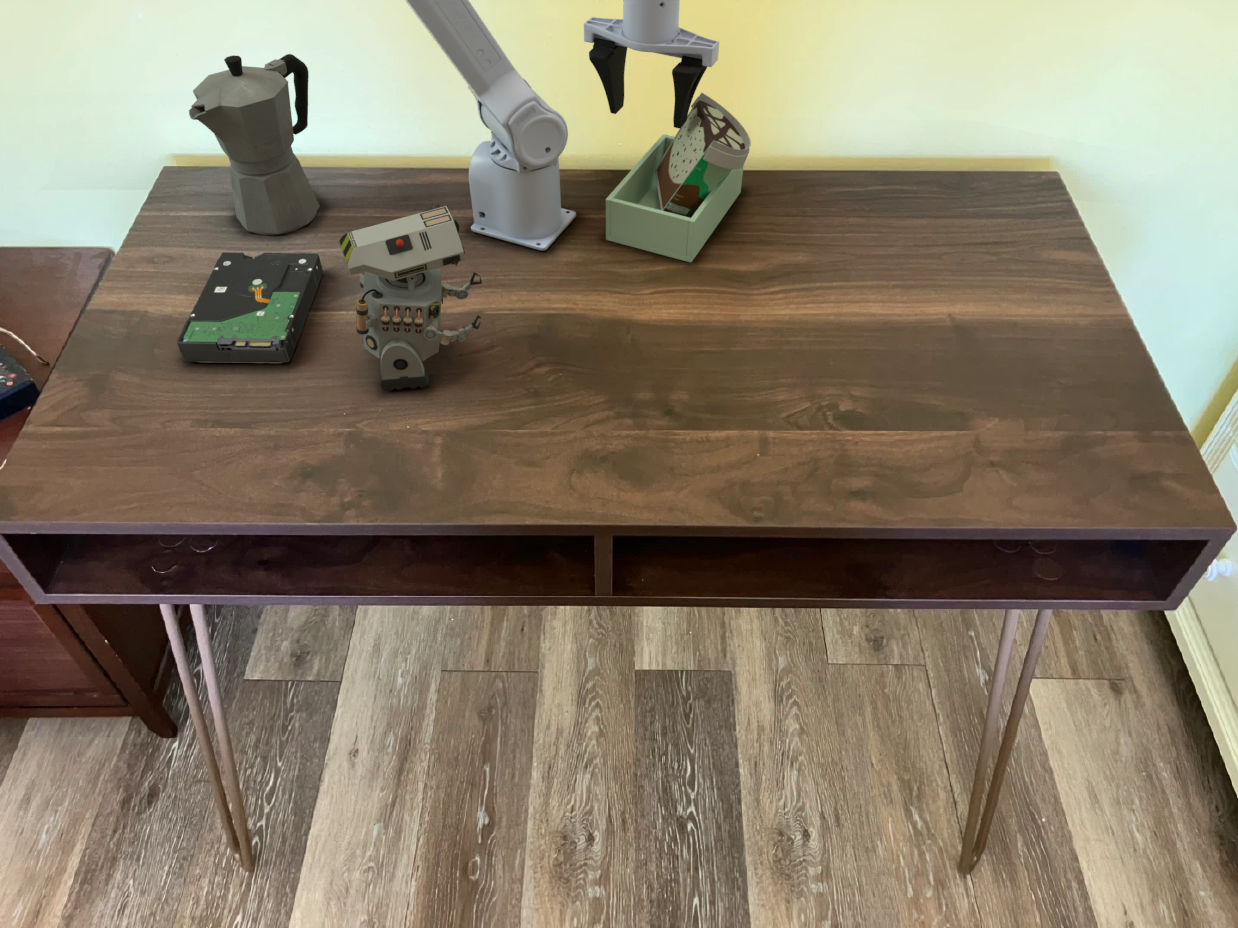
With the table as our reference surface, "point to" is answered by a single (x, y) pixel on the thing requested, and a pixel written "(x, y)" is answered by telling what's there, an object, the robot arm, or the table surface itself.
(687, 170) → the food container
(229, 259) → the disk drive
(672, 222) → the storage bin
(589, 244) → the table surface
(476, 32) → the robot arm
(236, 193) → the coffeepot
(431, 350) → the figurine
